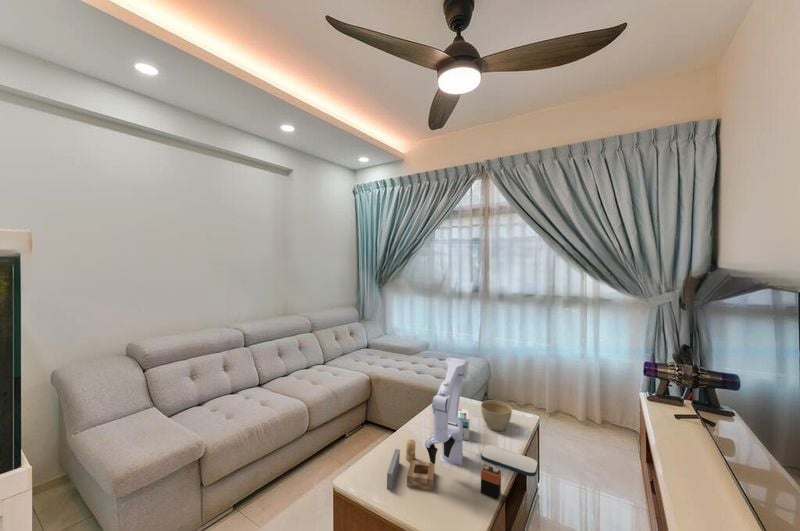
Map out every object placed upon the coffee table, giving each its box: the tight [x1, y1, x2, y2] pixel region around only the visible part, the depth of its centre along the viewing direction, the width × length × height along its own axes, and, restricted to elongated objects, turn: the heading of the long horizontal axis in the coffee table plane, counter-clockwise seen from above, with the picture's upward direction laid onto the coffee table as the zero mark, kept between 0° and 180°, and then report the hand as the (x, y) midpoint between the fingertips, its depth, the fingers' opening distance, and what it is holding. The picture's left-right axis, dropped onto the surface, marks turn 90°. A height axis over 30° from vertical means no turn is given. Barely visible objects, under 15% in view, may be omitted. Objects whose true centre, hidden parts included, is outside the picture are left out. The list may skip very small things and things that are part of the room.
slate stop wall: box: [386, 448, 401, 490], centre depth 128 cm, size 2×16×6 cm, turn 170°
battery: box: [480, 464, 502, 500], centre depth 120 cm, size 4×7×10 cm, turn 61°
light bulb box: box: [455, 408, 471, 441], centre depth 161 cm, size 11×7×11 cm, turn 168°
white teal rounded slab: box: [480, 444, 539, 477], centre depth 140 cm, size 24×12×2 cm, turn 60°
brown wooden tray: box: [406, 459, 436, 491], centre depth 126 cm, size 10×10×4 cm
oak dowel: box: [405, 439, 416, 463], centre depth 138 cm, size 4×4×8 cm
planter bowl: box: [480, 400, 513, 432], centre depth 169 cm, size 16×16×11 cm
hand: (439, 459), depth 126 cm, fingers open, 7 cm apart
